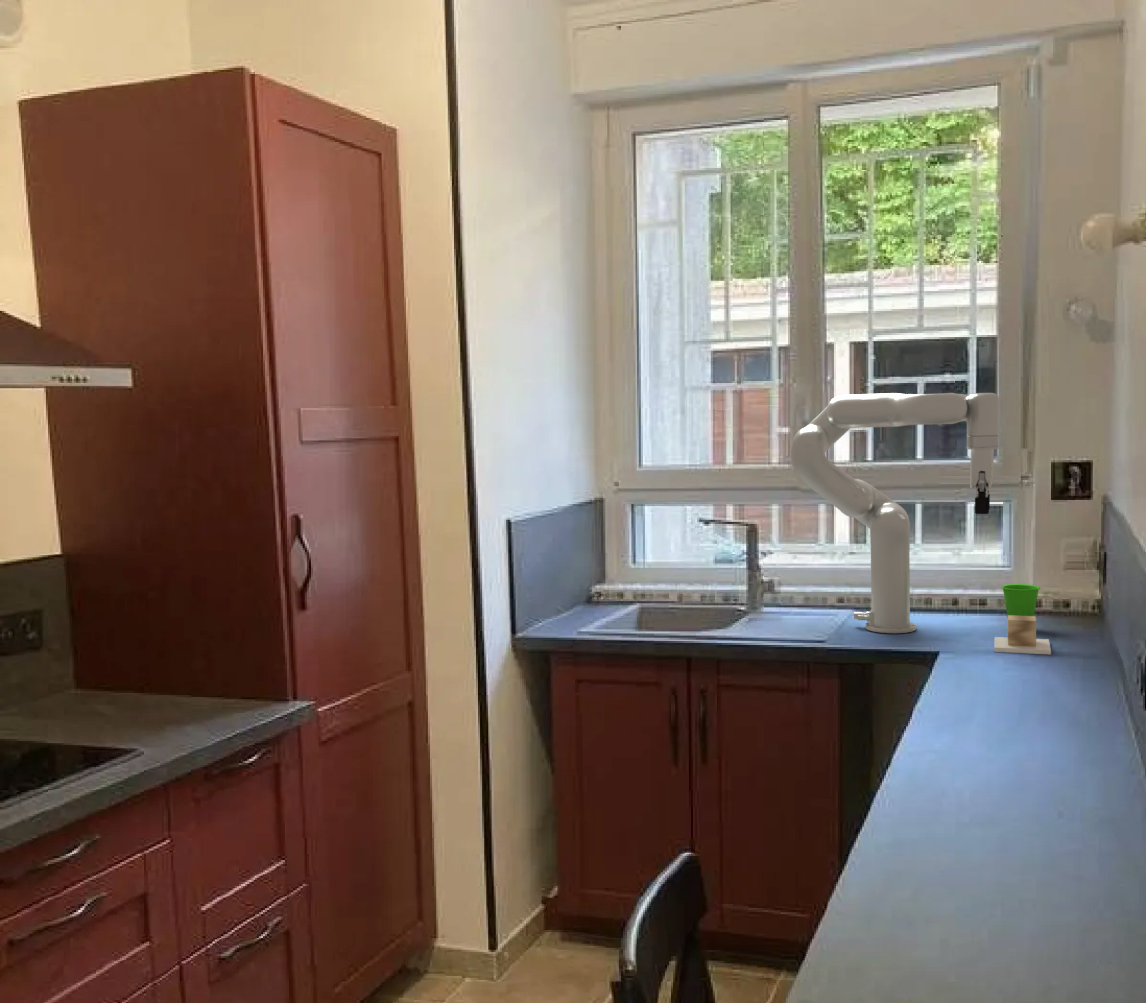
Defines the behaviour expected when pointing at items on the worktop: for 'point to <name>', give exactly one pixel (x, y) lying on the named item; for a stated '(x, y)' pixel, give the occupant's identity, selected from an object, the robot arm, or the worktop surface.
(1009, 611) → the cup
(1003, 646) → the panel
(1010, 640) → the block
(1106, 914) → the worktop surface
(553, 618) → the worktop surface
